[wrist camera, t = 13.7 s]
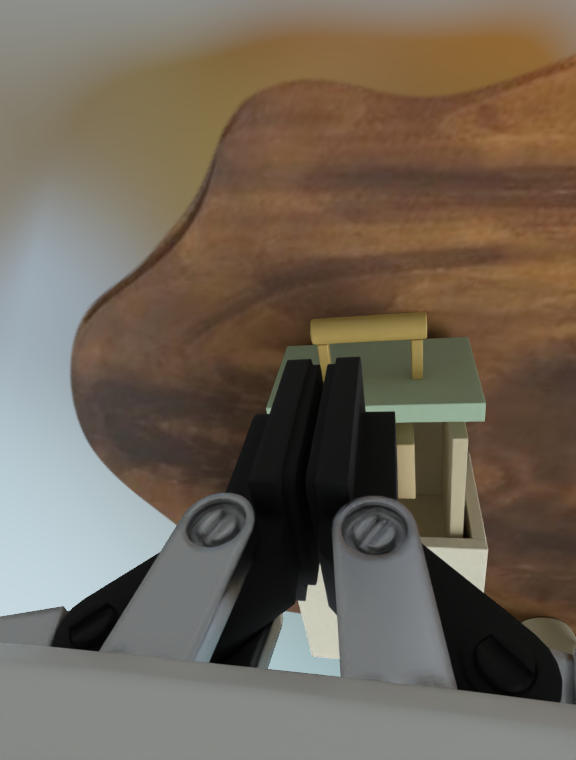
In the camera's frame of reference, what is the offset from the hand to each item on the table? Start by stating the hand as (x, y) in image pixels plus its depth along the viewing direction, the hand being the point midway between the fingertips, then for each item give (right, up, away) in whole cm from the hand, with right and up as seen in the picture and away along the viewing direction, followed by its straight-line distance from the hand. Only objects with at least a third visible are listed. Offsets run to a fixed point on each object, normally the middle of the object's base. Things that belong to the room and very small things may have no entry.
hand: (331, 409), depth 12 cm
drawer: (+5, -1, +22) cm, 22 cm away
